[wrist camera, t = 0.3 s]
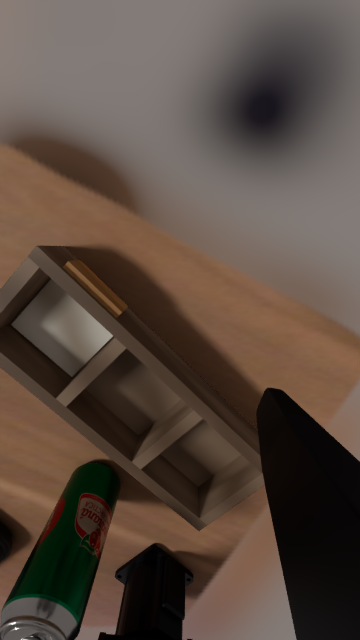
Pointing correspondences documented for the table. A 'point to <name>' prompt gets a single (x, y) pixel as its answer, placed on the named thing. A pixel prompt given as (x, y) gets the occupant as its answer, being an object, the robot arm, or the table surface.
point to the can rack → (124, 387)
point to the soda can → (63, 560)
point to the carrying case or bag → (5, 542)
